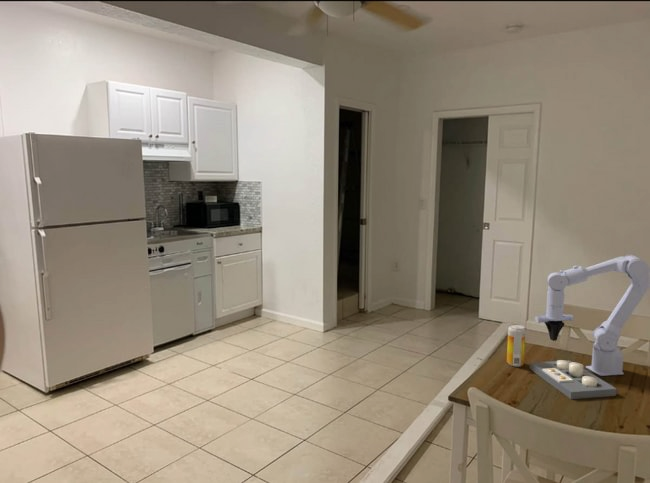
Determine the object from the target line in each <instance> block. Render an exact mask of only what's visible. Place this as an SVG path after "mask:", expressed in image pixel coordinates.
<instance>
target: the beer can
mask: <svg viewBox="0 0 650 483" xmlns="http://www.w3.org/2000/svg"><path fill="white" fill-rule="evenodd" d="M525 345H526V328H525V326H524V325H521V324H510V325H509V326H508V329H507V346H506V347H507V349H506V350H507V351H506V362H507V363H508V365H509V366H511V367H515V368H519V367H522V366H523V365H524V364H525V347H526V346H525Z"/></svg>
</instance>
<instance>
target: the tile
mask: <svg viewBox="0 0 650 483" xmlns="http://www.w3.org/2000/svg"><path fill="white" fill-rule="evenodd" d="M542 371H544V372H545V373H546V374H548V375H549V376H551V377H552V378H554V379H555V380H556V381H558V382H559V383H560V382H573V379H571V378H570V377H568V376H567V375H565V374H564V373H562V372H561V371H559V370H558V369H556V368H547V369H542Z"/></svg>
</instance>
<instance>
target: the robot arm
mask: <svg viewBox="0 0 650 483" xmlns="http://www.w3.org/2000/svg"><path fill="white" fill-rule="evenodd" d="M609 272H616V273H617V272H618V273H622V274H627V277H628V280H629V282H630V284H629V286H628V288H627V290H626V291H625V292H624V294H623V296H622V297H621V299H620V300H619V302H617V305H616V306H615V307H614V309H613V310H612V312H611V314H610V315H609V316H608V318H607V320H605V321H603V322H602V323H601V324H600V326H598V327H596V328H595V329H594V330H593V332H592V337H593V340H594V341H595V342H594V343H593V344H592V355H591V365H586V366H585V368H586V369H588V370H589V371H591V372H593V373H595V374H596V375H598V376H600V377H604V376H619V375H625V374H624V371H623V365H624V355H623V351H622V349H621V348H619V347H618V342H619V339H620V338H621V333H622V329H623V327H624V326H625V324H626V323H627V321H628V320H629V319H630V317H631V315H632V314H633V313H634V311H635V310H636V308H637V306H638V305H639V304H640V302H641V301H642V299H643V297H644V296H645V295H646V293H647V292H648V290H649V288H650V267H649V264H648V263H647V262H646V261H645V260H644V259H641V258H639V257H638V256H636V255H634V254H626V255H624V256H617V257H614V258H611V259H608V260H605V261H603V262H600V263H597V264H594V265H591V266H587V267H584V266H581V265H573V266H572V268H569V269H566V270H562V269H561V270H559V272H557V271H556V272H552V273H550V274H548V276H547V278H546V282H547V283H546V284H548V286H547V294H546V312H545V313H546V314H542V315H538V316H535V318H534V322H535V323H537V324H540V323H544V324H545V326H546V329H547V331H548V334H549V340H550V341H552V342H556V341H557V340H558V337H559V334H560V333H561V330H562V329H563V328H564V327H565V321H567V322H568V321H571V322H574V321H575V320H574V318H575V316H574V315H572V314H564V309H565V308H564V307H565V289H566V287H570V286H573V285H576V284H581V283H584V282H587V281H588V279H589V278H590V277H592V276H597V275H601V274H602V275H603V274H605V273H609Z"/></svg>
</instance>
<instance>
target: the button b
mask: <svg viewBox="0 0 650 483" xmlns="http://www.w3.org/2000/svg"><path fill="white" fill-rule="evenodd" d="M584 367H585V366H584V364H582V363H580V362H575V361H574V362H573V361H572V362H571V363H569V375H570V376H572V377H576V378H581V377H583V369H584Z"/></svg>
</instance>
